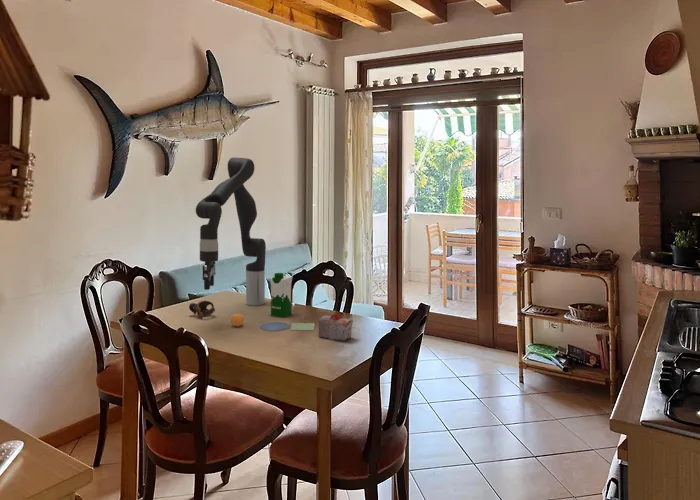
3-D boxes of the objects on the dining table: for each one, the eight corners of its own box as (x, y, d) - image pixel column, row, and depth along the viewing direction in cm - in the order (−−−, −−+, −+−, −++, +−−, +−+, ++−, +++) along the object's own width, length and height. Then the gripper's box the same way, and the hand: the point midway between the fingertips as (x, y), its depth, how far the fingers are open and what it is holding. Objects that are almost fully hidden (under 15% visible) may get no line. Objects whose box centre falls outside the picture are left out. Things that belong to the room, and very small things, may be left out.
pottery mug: (216, 314, 241) (218, 301, 236) (209, 328, 233) (211, 315, 228) (191, 307, 240) (192, 294, 235) (183, 321, 232) (185, 308, 228)
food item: (354, 337, 208) (355, 314, 207) (346, 343, 201) (347, 318, 200) (324, 333, 214) (325, 310, 212) (315, 338, 206) (316, 314, 205)
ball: (232, 324, 223) (231, 312, 222) (244, 324, 223) (244, 312, 223) (229, 328, 218) (229, 315, 217) (242, 328, 218) (242, 315, 217)
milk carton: (267, 316, 238) (267, 273, 235) (278, 311, 246) (278, 270, 243) (284, 318, 234) (284, 275, 231) (294, 313, 242) (294, 272, 239)
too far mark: (291, 323, 226) (291, 323, 226) (314, 323, 227) (314, 323, 227) (290, 330, 216) (290, 329, 216) (313, 330, 217) (313, 329, 217)
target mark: (261, 322, 227) (261, 321, 227) (291, 322, 228) (291, 322, 228) (257, 330, 214) (257, 330, 214) (288, 331, 215) (288, 330, 215)
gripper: (214, 251, 209) (214, 291, 210) (221, 247, 223) (221, 284, 225) (195, 251, 208) (196, 290, 210) (203, 247, 222) (203, 284, 224)
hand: (209, 287), depth 217 cm, fingers open, 8 cm apart
